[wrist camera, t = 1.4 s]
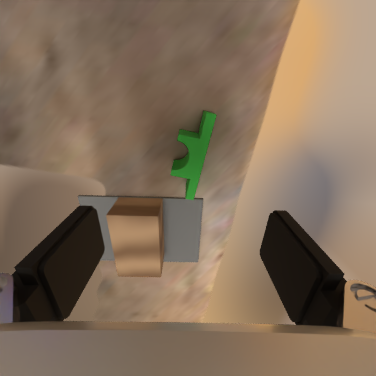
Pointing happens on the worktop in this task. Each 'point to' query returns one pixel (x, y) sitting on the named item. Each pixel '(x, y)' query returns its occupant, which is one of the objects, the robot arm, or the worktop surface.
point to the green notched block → (194, 153)
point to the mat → (172, 221)
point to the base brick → (137, 236)
